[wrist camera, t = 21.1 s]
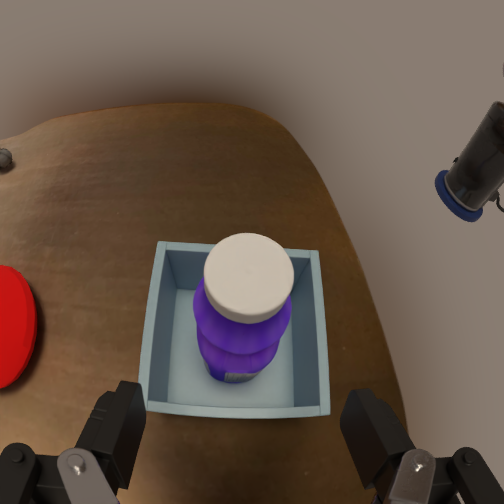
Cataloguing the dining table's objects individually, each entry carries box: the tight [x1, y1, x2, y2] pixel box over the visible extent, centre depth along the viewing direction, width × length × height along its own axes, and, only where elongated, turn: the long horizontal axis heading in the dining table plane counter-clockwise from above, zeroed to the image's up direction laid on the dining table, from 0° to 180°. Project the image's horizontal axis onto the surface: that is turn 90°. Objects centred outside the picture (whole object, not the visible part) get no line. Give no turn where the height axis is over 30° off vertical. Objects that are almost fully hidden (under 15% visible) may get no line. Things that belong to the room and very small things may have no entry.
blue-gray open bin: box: [138, 241, 330, 419], centre depth 25 cm, size 14×14×9 cm
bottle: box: [193, 233, 294, 383], centre depth 21 cm, size 7×6×17 cm
